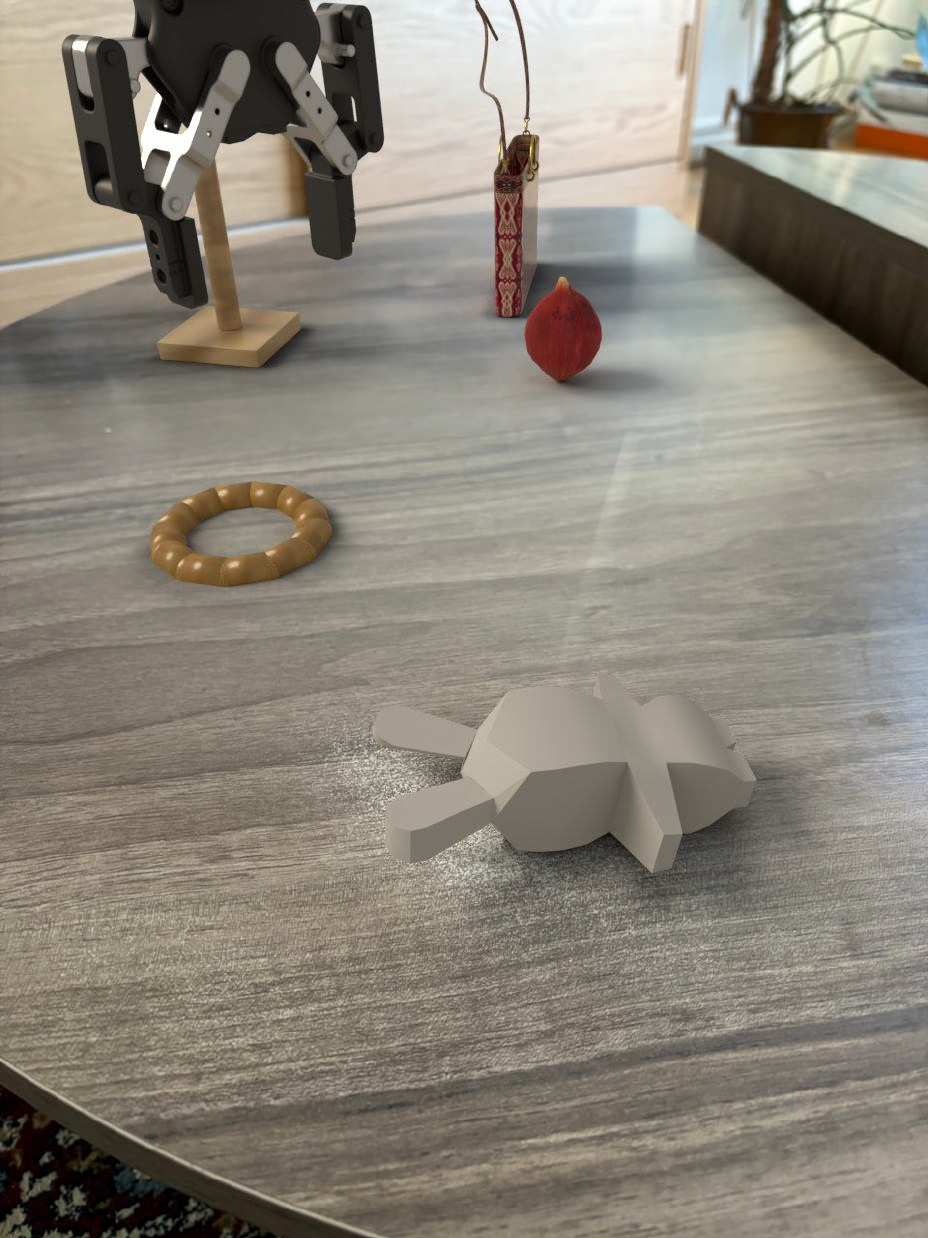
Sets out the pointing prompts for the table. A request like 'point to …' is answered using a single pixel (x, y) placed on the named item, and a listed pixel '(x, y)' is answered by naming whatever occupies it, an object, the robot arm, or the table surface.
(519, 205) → the handbag
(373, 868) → the table surface
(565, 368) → the onion
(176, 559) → the ring
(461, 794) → the bunny figurine
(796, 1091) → the table surface
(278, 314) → the stand
